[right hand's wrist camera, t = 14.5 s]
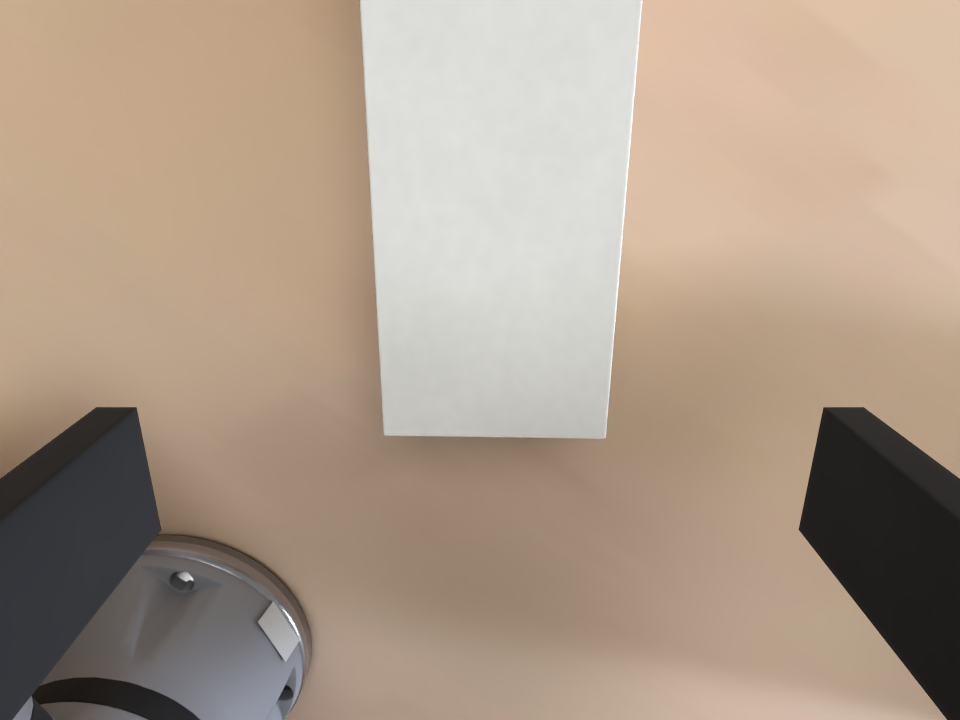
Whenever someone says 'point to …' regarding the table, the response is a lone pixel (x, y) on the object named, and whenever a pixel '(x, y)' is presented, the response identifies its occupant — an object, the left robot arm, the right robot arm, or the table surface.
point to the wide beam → (498, 209)
